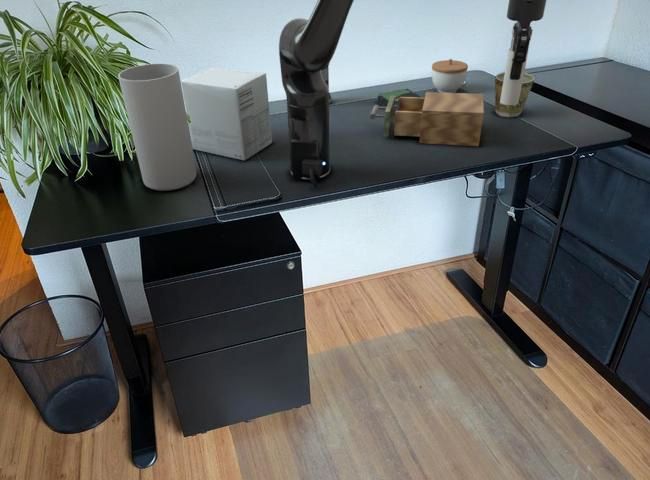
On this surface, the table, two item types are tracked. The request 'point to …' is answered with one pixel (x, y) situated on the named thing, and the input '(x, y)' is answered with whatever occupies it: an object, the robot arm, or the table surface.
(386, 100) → the disk drive
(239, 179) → the table surface
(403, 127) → the drawer
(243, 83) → the supplement box
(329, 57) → the robot arm
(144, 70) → the cylinder vase
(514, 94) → the lotion bottle
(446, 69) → the trinket box
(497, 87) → the ceramic cup
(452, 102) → the cabinet
